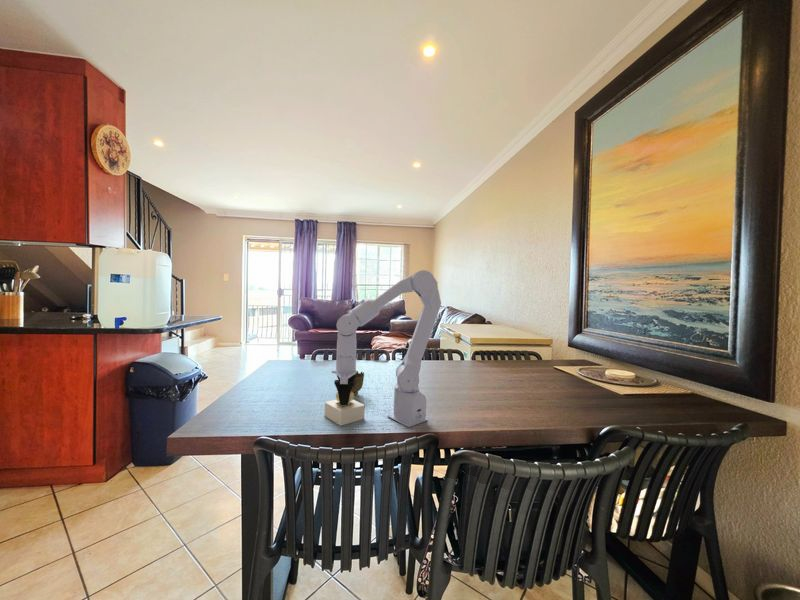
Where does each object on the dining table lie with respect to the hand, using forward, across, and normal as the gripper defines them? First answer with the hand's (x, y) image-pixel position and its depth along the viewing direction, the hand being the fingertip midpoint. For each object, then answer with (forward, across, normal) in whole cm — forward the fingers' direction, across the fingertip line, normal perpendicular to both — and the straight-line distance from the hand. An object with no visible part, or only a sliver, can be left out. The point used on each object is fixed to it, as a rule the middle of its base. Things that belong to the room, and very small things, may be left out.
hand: (344, 401), depth 92 cm
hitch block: (+5, 0, 0) cm, 5 cm away
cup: (+5, -19, +2) cm, 20 cm away
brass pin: (+3, 0, 0) cm, 3 cm away
